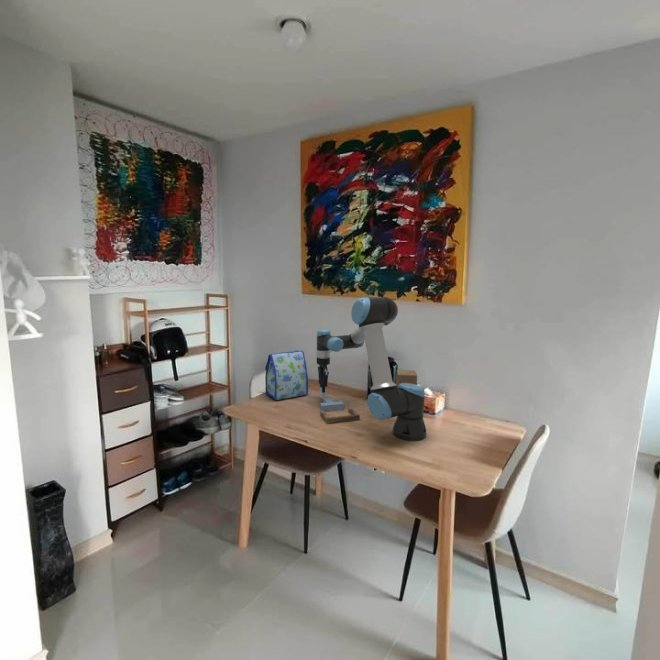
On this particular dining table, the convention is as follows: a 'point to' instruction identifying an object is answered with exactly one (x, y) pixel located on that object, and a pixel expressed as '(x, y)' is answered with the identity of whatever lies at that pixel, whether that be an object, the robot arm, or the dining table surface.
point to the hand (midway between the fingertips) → (322, 397)
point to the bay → (341, 417)
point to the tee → (331, 405)
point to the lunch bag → (286, 375)
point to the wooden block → (406, 377)
